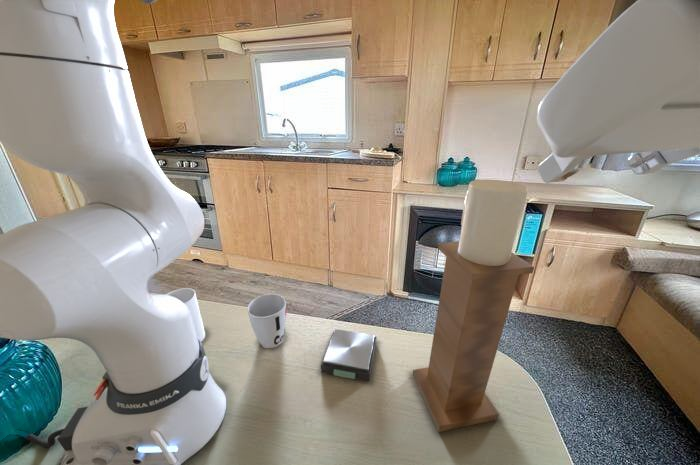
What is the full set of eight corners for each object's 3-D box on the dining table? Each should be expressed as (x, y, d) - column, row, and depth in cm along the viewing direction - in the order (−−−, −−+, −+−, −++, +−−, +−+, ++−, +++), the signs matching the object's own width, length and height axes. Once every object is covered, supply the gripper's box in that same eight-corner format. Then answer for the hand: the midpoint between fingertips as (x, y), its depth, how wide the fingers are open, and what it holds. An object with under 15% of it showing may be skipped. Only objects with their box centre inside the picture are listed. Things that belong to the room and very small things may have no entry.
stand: (438, 432, 46) (469, 278, 34) (412, 375, 56) (429, 240, 44) (497, 419, 48) (547, 270, 36) (462, 366, 58) (492, 235, 46)
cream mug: (475, 268, 36) (491, 193, 32) (440, 238, 44) (449, 176, 40) (520, 263, 37) (541, 191, 33) (478, 235, 46) (491, 174, 42)
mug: (185, 328, 68) (172, 287, 63) (211, 329, 67) (201, 288, 63) (157, 362, 58) (139, 317, 54) (188, 363, 58) (173, 319, 53)
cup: (280, 356, 60) (275, 320, 56) (246, 350, 61) (239, 314, 57) (294, 329, 67) (291, 296, 63) (264, 325, 69) (258, 291, 65)
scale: (320, 374, 56) (319, 364, 55) (334, 336, 65) (333, 327, 64) (369, 383, 54) (369, 373, 53) (376, 343, 63) (376, 334, 62)
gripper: (981, -54, 14) (664, 136, 27) (685, -103, 10) (477, 147, 23) (1129, 26, 12) (706, 192, 24) (821, 3, 8) (506, 216, 21)
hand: (593, 171), depth 24 cm, fingers open, 8 cm apart
